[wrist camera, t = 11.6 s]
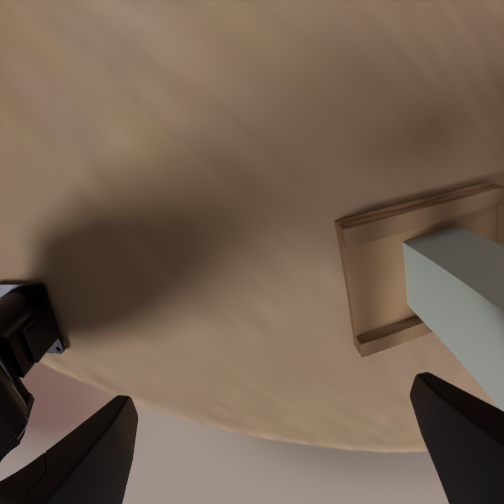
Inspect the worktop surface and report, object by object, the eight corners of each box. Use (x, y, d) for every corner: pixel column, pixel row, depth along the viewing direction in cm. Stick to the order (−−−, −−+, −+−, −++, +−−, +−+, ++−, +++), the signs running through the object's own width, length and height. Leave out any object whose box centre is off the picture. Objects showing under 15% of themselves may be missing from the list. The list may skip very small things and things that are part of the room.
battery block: (406, 304, 21) (517, 431, 8) (402, 242, 20) (549, 349, 7) (458, 285, 21) (575, 382, 8) (456, 225, 20) (602, 301, 7)
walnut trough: (354, 343, 23) (361, 358, 21) (334, 221, 20) (343, 228, 18) (488, 291, 23) (501, 300, 21) (488, 181, 20) (504, 185, 18)
